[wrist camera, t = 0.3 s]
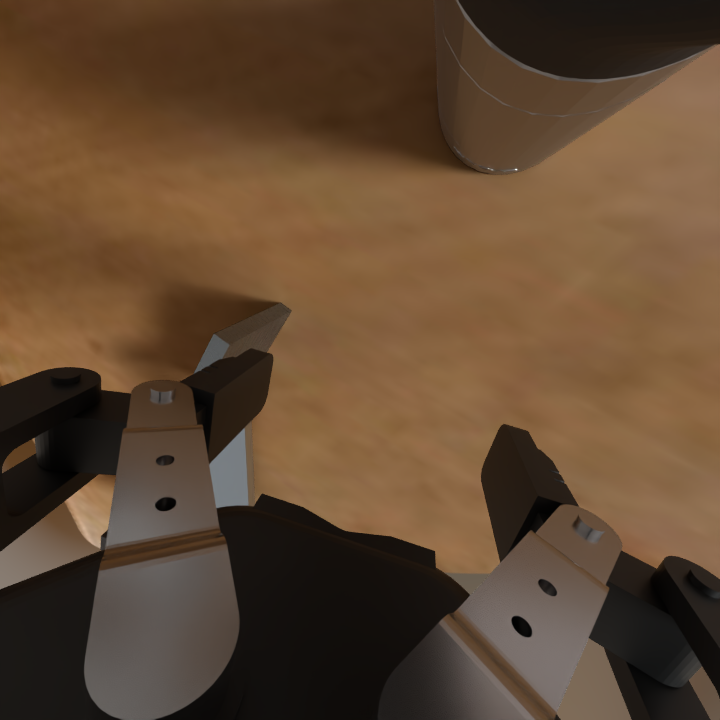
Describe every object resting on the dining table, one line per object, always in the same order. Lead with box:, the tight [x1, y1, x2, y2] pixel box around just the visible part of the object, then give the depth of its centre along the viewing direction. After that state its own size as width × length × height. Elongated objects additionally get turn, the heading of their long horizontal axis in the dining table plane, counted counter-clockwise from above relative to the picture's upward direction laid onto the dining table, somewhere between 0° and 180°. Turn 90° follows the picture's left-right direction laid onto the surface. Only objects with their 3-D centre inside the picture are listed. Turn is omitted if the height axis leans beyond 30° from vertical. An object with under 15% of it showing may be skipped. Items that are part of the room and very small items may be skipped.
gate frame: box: [101, 303, 291, 550], centre depth 32 cm, size 29×3×12 cm, turn 144°
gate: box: [209, 421, 255, 508], centre depth 33 cm, size 14×1×9 cm, turn 176°
